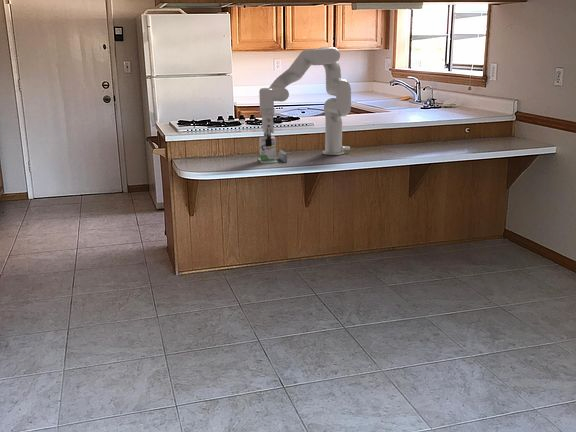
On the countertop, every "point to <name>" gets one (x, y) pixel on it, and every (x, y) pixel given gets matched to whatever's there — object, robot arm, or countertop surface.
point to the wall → (282, 156)
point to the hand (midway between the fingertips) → (267, 145)
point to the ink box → (267, 148)
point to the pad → (268, 160)
